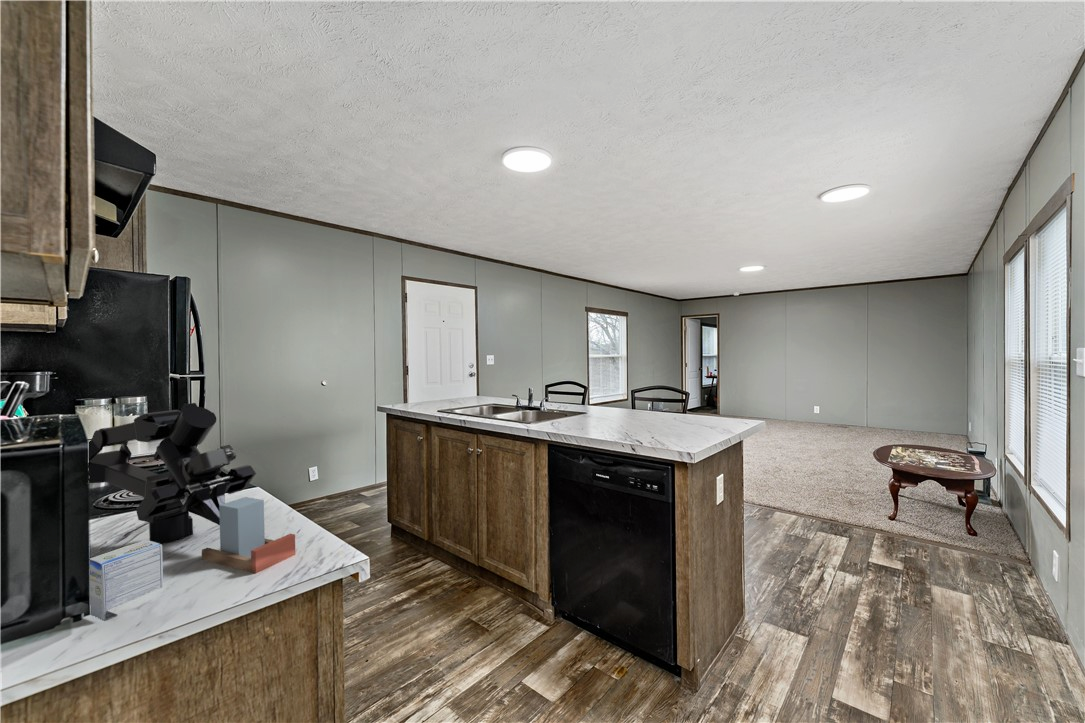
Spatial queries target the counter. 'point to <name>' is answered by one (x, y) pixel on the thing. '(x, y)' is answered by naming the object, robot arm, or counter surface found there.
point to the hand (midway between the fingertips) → (223, 523)
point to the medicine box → (124, 576)
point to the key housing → (255, 555)
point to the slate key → (242, 526)
